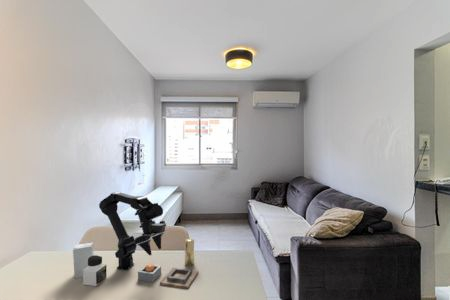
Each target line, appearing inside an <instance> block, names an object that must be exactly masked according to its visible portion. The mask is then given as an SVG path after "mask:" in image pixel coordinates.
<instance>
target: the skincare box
mask: <svg viewBox="0 0 450 300" xmlns="http://www.w3.org/2000/svg"><path fill="white" fill-rule="evenodd" d="M72 253H73V259H72V260H73V274H74V275H73V277H74V279H78V278H83V270H84V269H85V268H87V267H88V258H89V257H91V256H93V255H94V242H87V243H81V244H80V243H79V244H75V245H74V248H73V249H72Z"/></svg>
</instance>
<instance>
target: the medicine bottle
mask: <svg viewBox="0 0 450 300" xmlns="http://www.w3.org/2000/svg"><path fill="white" fill-rule="evenodd" d="M82 278H83V282H82V283H83V285H84V286H85V285H86V286H93V287H97V286H99V285H100V284H101V283H103V282H104V281H105V280H106V279H107V264H106V263H103V256H102V255H101V254H95V255H93V256H91V257H89V258H88V267H87V268H85V269H84V270H83V277H82Z"/></svg>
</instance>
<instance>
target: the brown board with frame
mask: <svg viewBox="0 0 450 300" xmlns="http://www.w3.org/2000/svg"><path fill="white" fill-rule="evenodd" d="M198 274H199V270H192V269H186V268H179V267H172V268H171V269H170V270H169V272H168V273H167V274H165V276H164V277H163V278H162V279H161V281H160V282H159V286H165V287H166V286H167V287H174V288H181V289H187V290H188V289H189V287H190V286H191V285H192V283H193V282H194V280H195V279H196V277H197V276H198Z"/></svg>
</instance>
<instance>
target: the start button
mask: <svg viewBox="0 0 450 300" xmlns="http://www.w3.org/2000/svg"><path fill="white" fill-rule="evenodd" d="M147 264H148V265H146V264H145V265H146V272H153V271H154V265H155V264H153V263H147Z"/></svg>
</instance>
